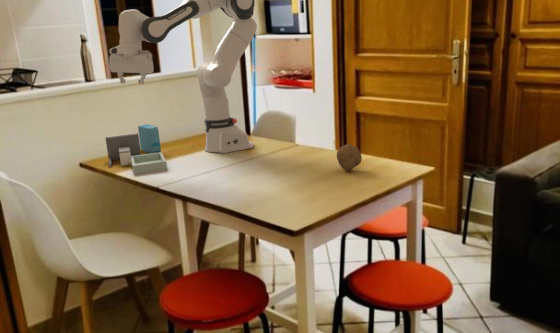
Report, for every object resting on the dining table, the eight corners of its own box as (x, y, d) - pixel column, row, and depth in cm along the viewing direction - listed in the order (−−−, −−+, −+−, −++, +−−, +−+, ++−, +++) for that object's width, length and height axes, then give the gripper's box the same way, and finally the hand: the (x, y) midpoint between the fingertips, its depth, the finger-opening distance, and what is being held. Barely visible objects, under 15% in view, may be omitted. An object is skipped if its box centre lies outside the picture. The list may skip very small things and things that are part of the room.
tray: (162, 160, 225) (161, 152, 224) (167, 169, 209) (166, 161, 208) (131, 164, 221) (130, 156, 220) (134, 174, 205) (132, 165, 204)
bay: (141, 155, 235) (137, 132, 232) (143, 162, 223) (140, 138, 220) (108, 159, 231) (105, 136, 228) (109, 167, 219) (105, 142, 216)
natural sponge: (353, 166, 197) (352, 140, 195) (366, 171, 189) (366, 144, 187) (332, 170, 194) (331, 144, 191) (345, 175, 186) (344, 148, 183)
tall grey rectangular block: (130, 159, 230) (129, 146, 228) (132, 164, 221) (130, 150, 220) (120, 160, 228) (118, 147, 227) (121, 165, 220) (119, 152, 219)
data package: (161, 152, 239) (158, 126, 236) (152, 154, 236) (149, 128, 233) (149, 148, 248) (146, 123, 245) (141, 150, 245) (137, 125, 242)
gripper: (156, 50, 215) (157, 84, 217) (116, 49, 222) (117, 82, 225) (146, 50, 209) (147, 85, 212) (106, 49, 216) (107, 83, 219)
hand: (132, 83), depth 218 cm, fingers open, 8 cm apart
